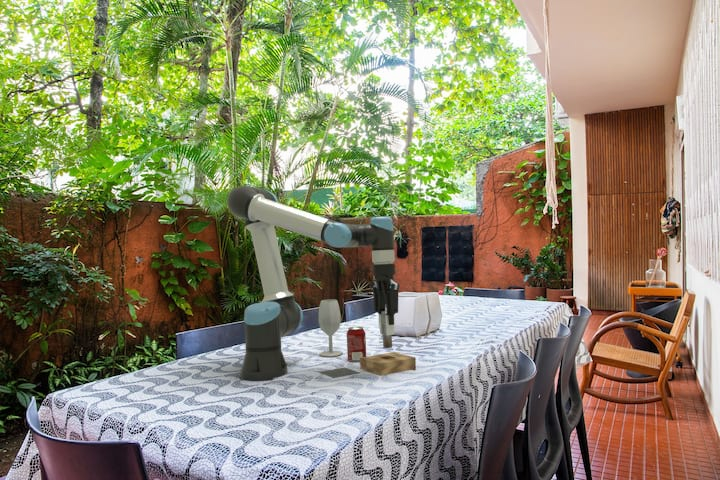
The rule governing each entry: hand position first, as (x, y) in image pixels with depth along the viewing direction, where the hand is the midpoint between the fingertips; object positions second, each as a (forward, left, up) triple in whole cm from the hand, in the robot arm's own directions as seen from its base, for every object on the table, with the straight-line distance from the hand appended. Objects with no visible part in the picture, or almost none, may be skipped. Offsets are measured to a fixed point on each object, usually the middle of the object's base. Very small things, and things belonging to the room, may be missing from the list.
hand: (387, 333), depth 167 cm
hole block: (0, 0, -12) cm, 12 cm away
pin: (0, 0, -4) cm, 4 cm away
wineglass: (-3, +34, -12) cm, 36 cm away
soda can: (-1, +18, -12) cm, 22 cm away
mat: (-15, +6, -12) cm, 20 cm away
